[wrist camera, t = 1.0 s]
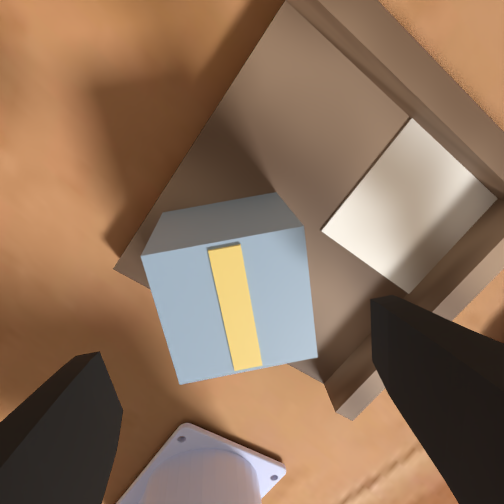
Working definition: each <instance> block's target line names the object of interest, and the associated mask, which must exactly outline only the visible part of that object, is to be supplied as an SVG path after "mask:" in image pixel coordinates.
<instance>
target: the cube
mask: <svg viewBox="0 0 504 504" xmlns="http://www.w3.org/2000/svg"><path fill="white" fill-rule="evenodd" d="M141 259H142V262H143V266H144V269H145V272H146V276H147V279H148V282H149V285H150V289H151V292H152V295H153V299H154V302H155V305H156V309H157V312H158V315H159V318H160V322H161V325H162V328H163V332H164V335H165V338H166V342H167V345H168V348H169V351H170V355H171V358H172V361H173V365H174V368H175V371H176V374H177V378H178V381H179V384H180V385H181V384H186V383H191V382H196V381H201V380H206V379H211V378H216V377H221V376H226V375H231V374H236V373H241V372H246V371H251V370H256V369H261V368H266V367H271V366H276V365H281V364H286V363H292V362H297V361H302V360H307V359H312V358H317V357H318V354H317V345H316V335H315V326H314V316H313V307H312V297H311V288H310V278H309V269H308V259H307V250H306V240H305V230H304V225H303V224H302V223H301V222H300V220H299V219H298V218H297V217H296V216H295V214H294V213H293V212H292V211H291V209H290V208H289V207H288V206H287V205H286V203H285V202H284V201H283V200H282V198H281V197H280V196H279V195H278V194H277V192H274V193H268V194H263V195H257V196H252V197H246V198H240V199H235V200H229V201H224V202H218V203H213V204H207V205H202V206H196V207H190V208H185V209H179V210H174V211H168V212H163V213H162V215H161V217H160V219H159V221H158V223H157V225H156V227H155V229H154V231H153V233H152V235H151V237H150V239H149V241H148V243H147V244H146V246H145V248H144V250H143V252H142V254H141Z"/></svg>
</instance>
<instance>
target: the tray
mask: <svg viewBox="0 0 504 504" xmlns="http://www.w3.org/2000/svg"><path fill="white" fill-rule="evenodd" d="M274 192H277V194H278V195H279V196H280V197H281V198H282V200H283V201H284V202H285V203H286V205H287V206H288V207H289V208H290V209H291V211H292V212H293V213H294V214H295V216H296V217H297V218H298V219H299V220H300V222H301V223H302V224H303V225H304V230H305V240H306V250H307V259H308V269H309V278H310V288H311V297H312V307H313V316H314V326H315V335H316V345H317V354H318V357H317V358H312V359H307V360H302V361H297V362H292V363H287V364H288V365H290V366H292V367H294V368H296V369H298V370H299V371H301V372H303V373H305V374H307V375H309V376H310V377H312V378H314V379H316V380H318V381H320V382H321V383H323V384H324V385H325V388H326V390H327V393H328V395H329V397H330V400H331V402H332V405H333V407H334V410H335V412H336V413H338V414H340V415H342V416H344V417H346V418H348V419H350V420H352V421H353V420H354V419H355V418H356V417H357V416H358V415H359V414H360V413H361V412H362V411H363V410H364V409H365V408H366V407H367V406H368V405H369V404H370V403H371V402H372V401H373V400H374V399H375V398H376V397H377V396H378V395H379V394H380V393H381V392H382V391H383V390H384V389H385V386H384V384H383V382H382V380H381V378H380V376H379V374H378V372H377V370H376V368H375V366H374V364H373V362H372V344H371V311H370V299H373V298H378V297H383V296H389V295H394V296H397V297H400V298H402V299H404V300H407V301H409V302H411V303H413V304H415V305H418V306H420V307H422V308H424V309H426V310H428V311H430V312H433V313H435V314H437V315H439V316H441V317H443V318H445V319H448V320H450V321H452V320H453V319H454V318H455V317H456V316H457V315H458V314H459V313H460V312H461V311H462V310H463V309H464V308H465V307H466V306H467V305H468V304H469V303H470V302H471V301H472V300H473V299H474V298H475V297H476V296H477V295H478V294H479V293H480V292H481V291H482V290H483V289H484V288H485V287H486V286H487V285H488V284H489V283H490V282H491V281H492V280H493V279H494V278H495V277H496V276H497V275H498V274H499V273H500V272H501V271H502V270H503V269H504V132H503V131H502V130H501V129H500V127H499V126H498V125H497V124H496V123H495V122H494V121H493V120H492V119H491V118H490V117H489V116H488V115H487V114H486V113H485V112H484V111H483V110H482V109H481V108H480V107H479V106H478V105H477V103H476V102H475V101H474V100H473V99H472V98H471V97H470V96H469V95H468V94H467V93H466V92H465V91H464V90H463V89H462V88H461V87H460V86H459V85H458V84H457V83H456V82H455V81H454V79H453V78H452V77H451V76H450V75H449V74H448V73H447V72H446V71H445V70H444V69H443V68H442V67H441V66H440V65H439V64H438V63H437V62H436V61H435V60H434V59H433V58H432V57H431V55H430V54H429V53H428V52H427V51H426V50H425V49H424V48H423V47H422V46H421V45H420V44H419V43H418V42H417V41H416V40H415V39H414V38H413V37H412V36H411V35H410V34H409V33H408V31H407V30H406V29H405V28H404V27H403V26H402V25H401V24H400V23H399V22H398V21H397V20H396V19H395V18H394V17H393V16H392V15H391V14H390V13H389V12H388V11H387V10H386V9H385V7H384V6H383V5H382V4H381V3H380V2H379V1H378V0H285V2H284V3H283V5H282V6H281V8H280V10H279V11H278V13H277V14H276V16H275V17H274V19H273V20H272V22H271V24H270V25H269V27H268V28H267V30H266V31H265V33H264V34H263V36H262V38H261V39H260V41H259V42H258V44H257V45H256V47H255V49H254V50H253V52H252V53H251V55H250V56H249V58H248V59H247V61H246V63H245V64H244V66H243V67H242V69H241V70H240V72H239V73H238V75H237V77H236V78H235V80H234V81H233V83H232V84H231V86H230V87H229V89H228V91H227V92H226V94H225V95H224V97H223V98H222V100H221V101H220V103H219V105H218V106H217V108H216V109H215V111H214V112H213V114H212V116H211V117H210V119H209V120H208V122H207V123H206V125H205V126H204V128H203V130H202V131H201V133H200V134H199V136H198V137H197V139H196V140H195V142H194V144H193V145H192V147H191V148H190V150H189V151H188V153H187V154H186V156H185V158H184V159H183V161H182V162H181V164H180V165H179V167H178V169H177V170H176V172H175V173H174V175H173V176H172V178H171V179H170V181H169V183H168V184H167V186H166V187H165V189H164V190H163V192H162V193H161V195H160V197H159V198H158V200H157V201H156V203H155V204H154V206H153V207H152V209H151V211H150V212H149V214H148V215H147V217H146V218H145V220H144V222H143V223H142V225H141V226H140V228H139V229H138V231H137V232H136V234H135V236H134V237H133V239H132V240H131V242H130V243H129V245H128V246H127V248H126V250H125V251H124V253H123V254H122V256H121V257H120V259H119V260H118V262H117V264H116V265H115V267H114V268H113V269H114V270H116V271H118V272H119V273H121V274H123V275H125V276H127V277H129V278H130V279H132V280H134V281H136V282H138V283H140V284H141V285H143V286H145V287H147V288H149V289H150V285H149V282H148V279H147V276H146V272H145V269H144V266H143V262H142V259H141V254H142V252H143V250H144V248H145V246H146V244H147V243H148V241H149V239H150V237H151V235H152V233H153V231H154V229H155V227H156V225H157V223H158V221H159V219H160V217H161V215H162V213H163V212H168V211H174V210H179V209H185V208H190V207H196V206H202V205H207V204H213V203H218V202H224V201H229V200H235V199H240V198H246V197H252V196H257V195H263V194H268V193H274Z"/></svg>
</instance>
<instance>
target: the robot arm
mask: <svg viewBox="0 0 504 504" xmlns="http://www.w3.org/2000/svg"><path fill="white" fill-rule="evenodd" d="M370 311H371V344H372V362H373V364H374V366H375V368H376V370H377V372H378V374H379V376H380V378H381V380H382V382H383V384H384V386H385V388H386V390H387V392H388V394H389V396H390V397H391V399H392V400H393V402H394V404H395V405H396V407H397V408H398V410H399V411H400V413H401V414H402V416H403V417H404V419H405V420H406V422H407V424H408V425H409V427H410V428H411V430H412V431H413V433H414V434H415V436H416V437H417V439H418V440H419V442H420V443H421V445H422V446H423V448H424V449H425V451H426V452H427V454H428V455H429V457H430V458H431V460H432V461H433V463H434V464H435V466H436V467H437V469H438V471H439V472H440V474H441V475H442V477H443V478H444V480H445V481H446V483H447V485H448V486H449V488H450V490H451V491H452V493H453V495H454V496H455V498H456V500H457V501H458V503H459V504H504V344H503V343H501V342H498V341H496V340H493V339H491V338H488V337H486V336H484V335H481V334H479V333H477V332H474V331H472V330H470V329H468V328H465V327H463V326H461V325H459V324H456V323H454V322H452V321H450V320H448V319H445V318H443V317H441V316H439V315H437V314H435V313H433V312H430V311H428V310H426V309H424V308H422V307H420V306H418V305H415V304H413V303H411V302H409V301H407V300H404V299H402V298H400V297H397V296H394V295H389V296H383V297H378V298H373V299H370ZM122 414H123V409H122V406H121V404H120V401H119V399H118V396H117V394H116V391H115V389H114V386H113V384H112V381H111V379H110V376H109V374H108V371H107V369H106V366H105V364H104V361H103V359H102V356H101V354H100V351H99V352H94V353H89V354H84V355H79V356H75V357H74V358H73V359H71V360H70V361H69V362H68V363H66V364H65V365H64V366H63V367H62V368H61V369H59V370H58V371H57V372H56V373H55V374H54V375H53V376H51V377H50V378H49V379H48V380H47V381H46V382H45V383H44V384H43V385H41V386H40V387H39V388H38V389H37V390H36V391H35V392H34V393H33V394H31V395H30V396H29V397H28V398H27V399H26V400H25V401H24V402H23V403H21V404H20V405H19V406H18V407H17V408H16V409H15V410H14V411H13V412H11V413H10V414H9V415H8V416H7V417H6V418H5V419H4V420H3V421H1V422H0V504H101V503H102V500H103V496H104V493H105V490H106V486H107V483H108V479H109V476H110V472H111V469H112V465H113V462H114V458H115V455H116V451H117V446H118V440H119V434H120V428H121V421H122ZM180 436H184V437H180ZM285 474H286V467H285V465H284V464H283V463H281V462H279V461H276V460H274V459H272V458H269V457H267V456H265V455H262V454H260V453H258V452H255V451H253V450H251V449H249V448H246V447H244V446H242V445H239V444H237V443H235V442H232V441H230V440H228V439H226V438H223V437H221V436H219V435H216V434H214V433H212V432H209V431H207V430H205V429H202V428H200V427H198V426H196V425H193V424H191V423H183V424H181V425H180V426H179V427H178V428H177V429H176V431H175V432H174V433H173V434H172V436H171V437H170V438H169V439H168V440H167V442H166V443H165V444H164V445H163V447H162V448H161V449H160V450H159V452H158V453H157V454H156V455H155V456H154V458H153V459H152V460H151V461H150V463H149V464H148V465H147V466H146V467H145V469H144V470H143V471H142V472H141V474H140V475H139V476H138V477H137V478H136V480H135V481H134V482H133V483H132V485H131V486H130V487H129V488H128V489H127V491H126V492H125V493H124V494H123V496H122V497H121V498H120V499H119V500H118V502H117V503H116V504H262V502H261V499H262V498H263V497H264V495H265V494H266V493H267V492H268V491H269V490H270V489H271V488H272V487H273V486H274V485H275V484H276V483H277V482H278V481H279V480H280V479H281V478H282V477H283V476H284V475H285Z"/></svg>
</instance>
